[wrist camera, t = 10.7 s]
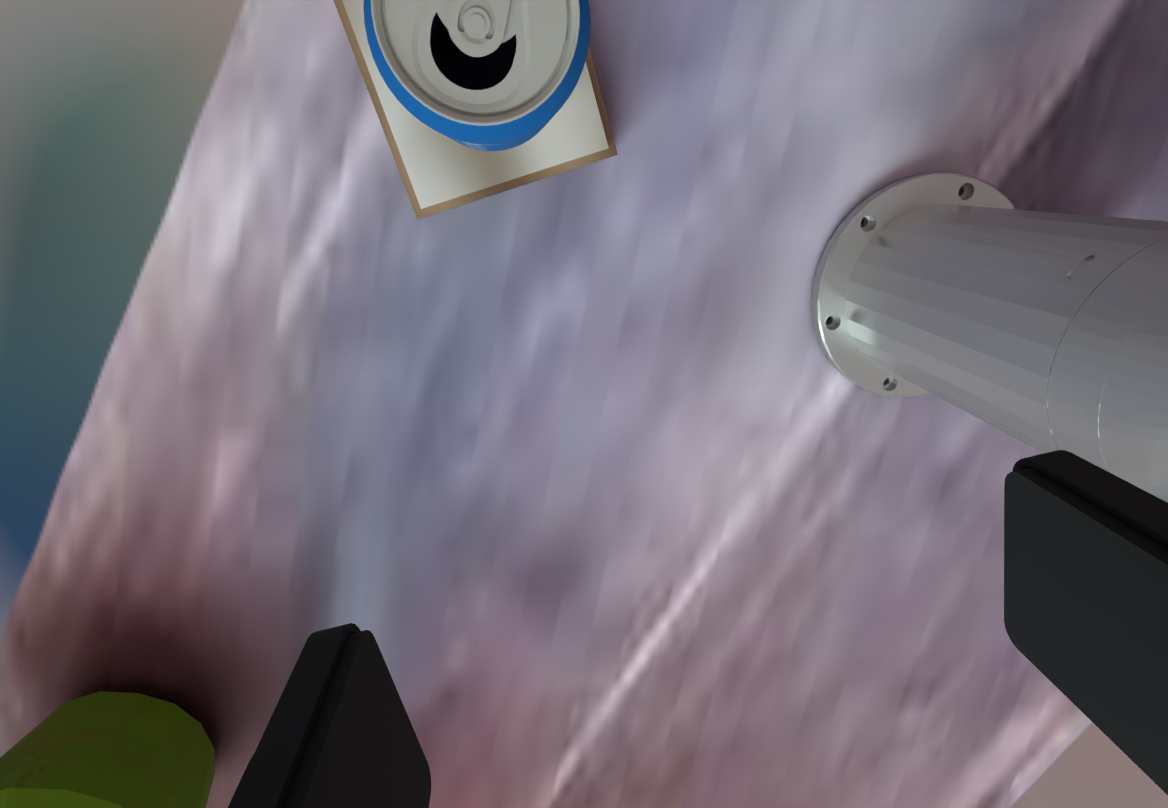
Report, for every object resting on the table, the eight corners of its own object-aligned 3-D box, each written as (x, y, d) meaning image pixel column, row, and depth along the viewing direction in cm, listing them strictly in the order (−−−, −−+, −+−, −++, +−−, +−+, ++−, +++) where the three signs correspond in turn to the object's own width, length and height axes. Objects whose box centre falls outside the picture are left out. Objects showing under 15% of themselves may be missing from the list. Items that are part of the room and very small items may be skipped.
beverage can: (403, 131, 29) (339, 109, 18) (425, -31, 27) (369, -171, 16) (545, 166, 30) (568, 165, 19) (575, 12, 28) (621, -89, 17)
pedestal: (549, -69, 30) (554, -94, 27) (609, 155, 33) (619, 154, 31) (341, -2, 30) (324, -19, 27) (423, 215, 33) (416, 220, 31)
